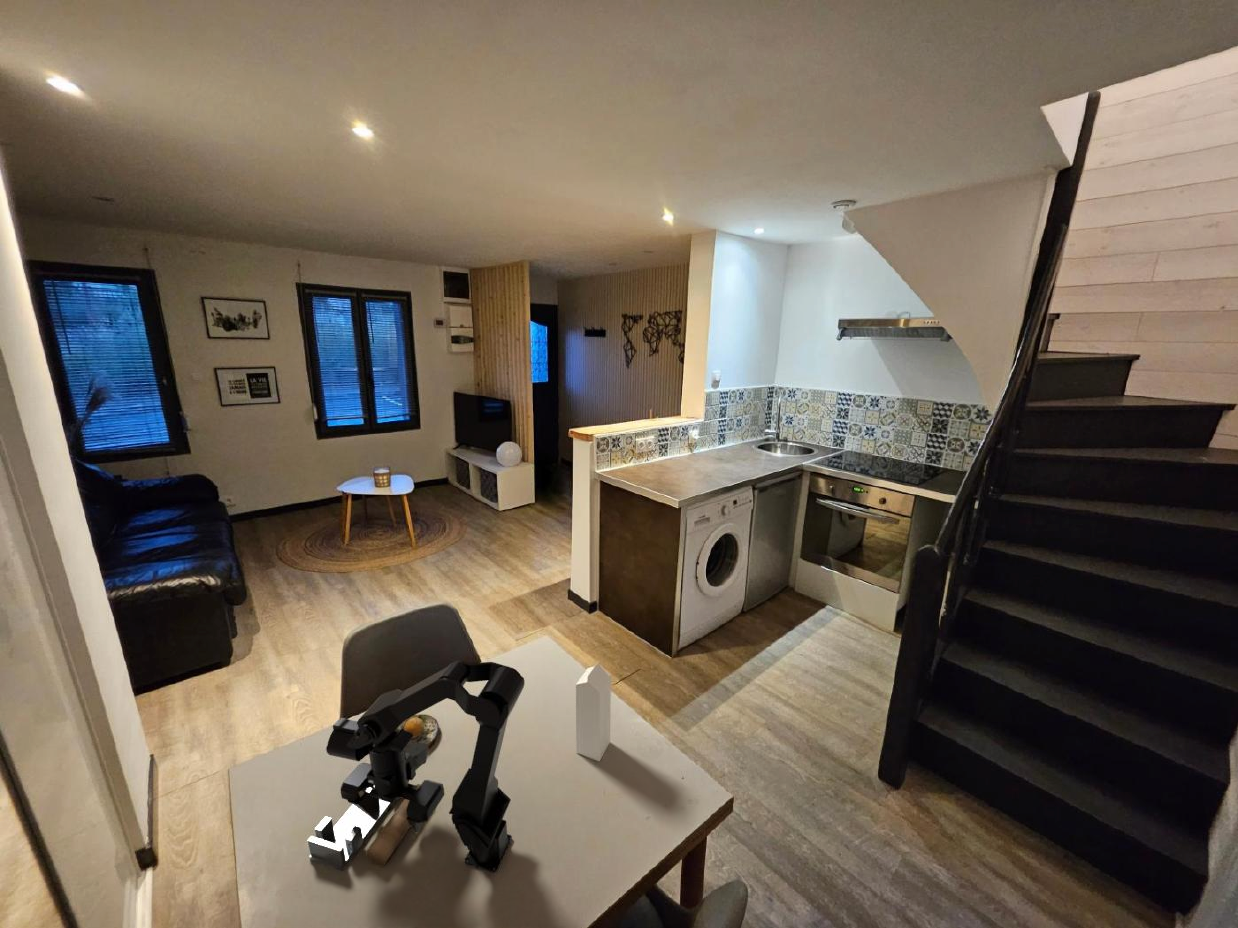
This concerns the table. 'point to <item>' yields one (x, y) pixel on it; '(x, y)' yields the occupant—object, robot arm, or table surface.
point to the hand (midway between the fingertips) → (397, 823)
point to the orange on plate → (422, 729)
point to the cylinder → (389, 836)
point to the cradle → (343, 836)
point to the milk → (593, 712)
